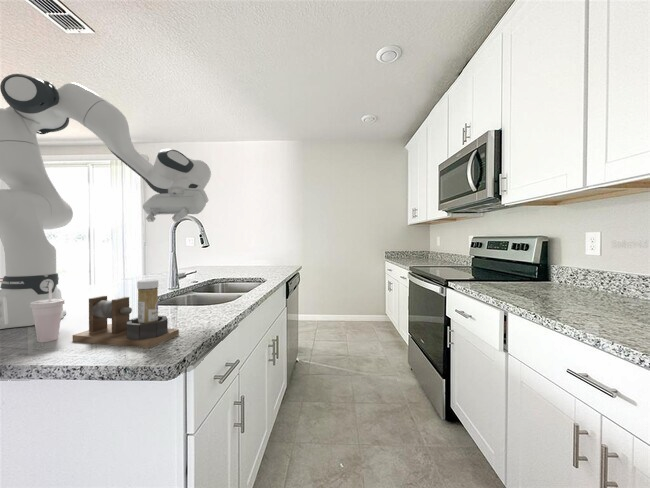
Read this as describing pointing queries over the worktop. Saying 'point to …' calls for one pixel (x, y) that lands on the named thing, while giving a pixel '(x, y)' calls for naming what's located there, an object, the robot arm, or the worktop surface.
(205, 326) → the worktop surface
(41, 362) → the worktop surface
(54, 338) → the smoothie
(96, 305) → the winch stand
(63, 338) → the worktop surface
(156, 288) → the pill bottle
